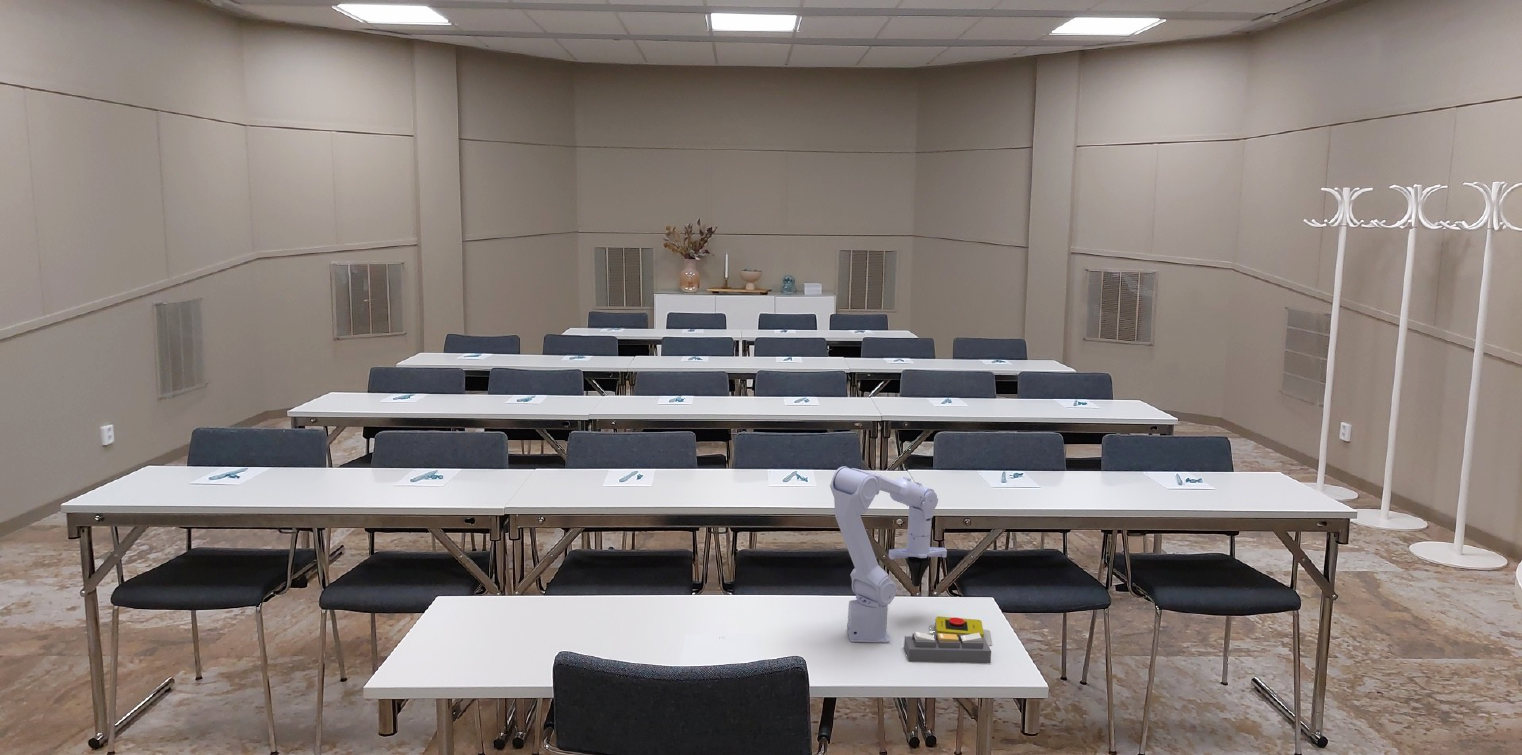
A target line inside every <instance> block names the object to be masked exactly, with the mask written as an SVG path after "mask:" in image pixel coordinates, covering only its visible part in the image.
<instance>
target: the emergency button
mask: <svg viewBox="0 0 1522 755" xmlns="http://www.w3.org/2000/svg"><path fill="white" fill-rule="evenodd" d="M983 627H984V626H983V621H982V620H980V619H974V618H973V619H972V618H964V617H963V618H961V617H950V616H949V617H948V616H936V617H935V622H934V624H931V625H929V626H928V634H933V635H934V637H936V634H938V633H942V634H956V635H957V637H959V634H961V635H969V634H974V633H979V634H980V636H981V638H985V640H986V642H987V644H988V646H989V647H991V646H993V639H992V634H991V630H989V629H984V628H983ZM929 628H931V629H929ZM929 631H935V632H933V633H929Z"/></svg>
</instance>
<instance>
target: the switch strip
mask: <svg viewBox="0 0 1522 755" xmlns="http://www.w3.org/2000/svg"><path fill="white" fill-rule="evenodd" d="M928 634H929V633H928ZM911 635H912V636H911ZM911 635H909V636H907V635H905V636H904V642H903V649H905V650H904V653H905V656H906V655H907V656H906V658H907V662H910V663H911V662H914V663H915V662H916V663H917V662H920V663H925V662H927V663H961V664H962V663H967V664H969V663H971V664H991V662H992V661H991V659H992V658H991V657H992V650H991V648H990V646H988V644H987V642H986V640H985V638H982V642H962V641H961V637H960V636H963V635H961V634H959V637H958V639H959V640H958V642H949V641H939V640H938V638H937V634H936V637H934V639H935V641H916V640H915V637H914V632H913V633H911ZM929 635H933V634H929Z"/></svg>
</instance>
